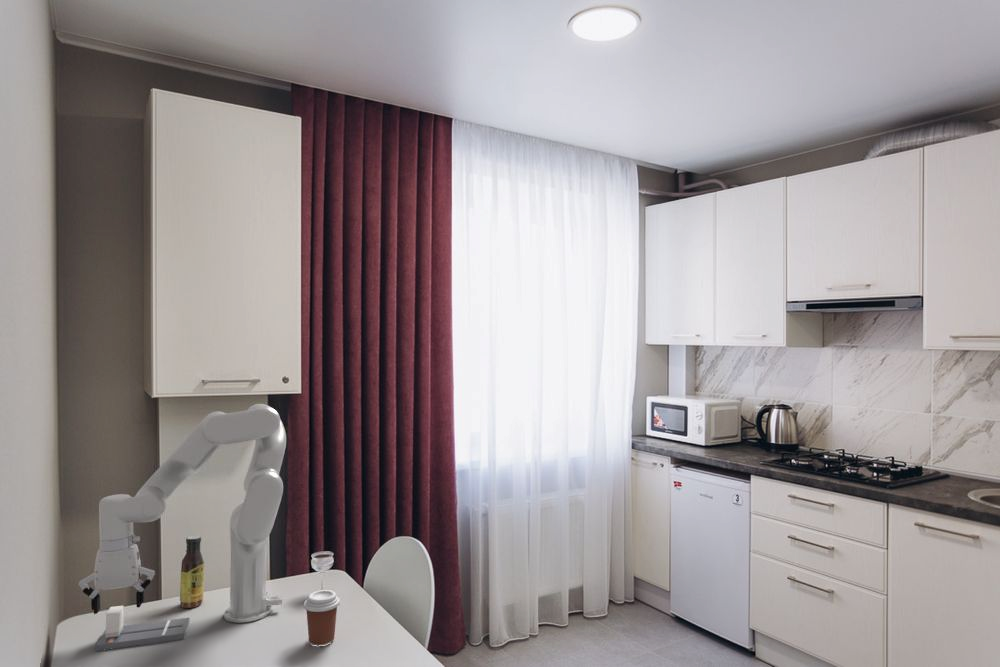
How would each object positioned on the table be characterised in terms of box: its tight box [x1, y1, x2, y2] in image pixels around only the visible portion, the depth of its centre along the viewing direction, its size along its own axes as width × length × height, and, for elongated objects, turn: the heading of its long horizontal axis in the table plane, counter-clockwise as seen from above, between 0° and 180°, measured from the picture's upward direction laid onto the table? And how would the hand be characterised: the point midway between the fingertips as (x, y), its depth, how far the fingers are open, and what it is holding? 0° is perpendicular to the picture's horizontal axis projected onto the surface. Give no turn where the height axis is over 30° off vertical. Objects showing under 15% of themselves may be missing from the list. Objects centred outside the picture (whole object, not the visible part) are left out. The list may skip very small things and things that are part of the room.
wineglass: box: [310, 550, 335, 590], centre depth 192 cm, size 7×7×12 cm
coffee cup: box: [303, 589, 341, 646], centre depth 161 cm, size 9×9×12 cm
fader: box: [105, 605, 125, 638], centre depth 161 cm, size 3×5×6 cm, turn 19°
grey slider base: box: [95, 617, 191, 652], centre depth 164 cm, size 20×10×2 cm, turn 109°
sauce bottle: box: [179, 535, 205, 609], centre depth 184 cm, size 7×6×20 cm
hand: (118, 608), depth 162 cm, fingers open, 9 cm apart
